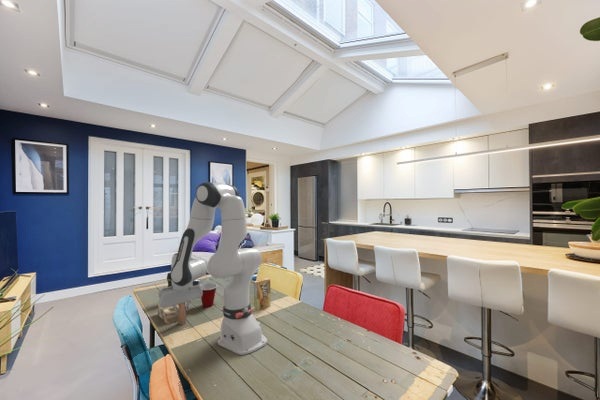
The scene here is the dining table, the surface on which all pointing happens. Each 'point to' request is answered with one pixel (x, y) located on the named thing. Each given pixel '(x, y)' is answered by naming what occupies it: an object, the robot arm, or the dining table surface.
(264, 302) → the candy box
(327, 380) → the dining table surface
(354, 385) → the dining table surface
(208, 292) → the plastic cup
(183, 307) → the peg
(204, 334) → the dining table surface
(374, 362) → the dining table surface
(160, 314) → the hole block
